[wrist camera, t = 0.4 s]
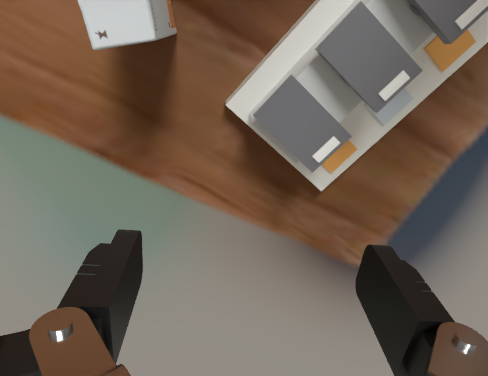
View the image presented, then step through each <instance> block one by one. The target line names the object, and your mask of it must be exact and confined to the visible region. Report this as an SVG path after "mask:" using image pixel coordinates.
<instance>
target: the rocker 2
mask: <svg viewBox="0 0 488 376" xmlns="http://www.w3.org/2000/svg"><path fill="white" fill-rule="evenodd" d="M407 1H408V2H409V3H410V9H411V10H412V11H413V12H414V13H415V14H416V15H417V16H421V17H422V19H423V20H424V21H425V22H426V23H427V24H428V26H429V27H430V28H431V29H432V30H433V31H434V33H435V34H436V35H437V36H438V37H439V38H440V40H441V41H442V42H443V43H444V44H452V43H453V42H454V41H455V40H456V39H457V38H459V37H460V36H461V35H462V34H463V33H464V32H465V31H466V30H467V29H468V28H469V27H470V26H471V25H473V24H474V23H475V22H476V21H477V20H478V19H479V18H480V17H481V16H482V15H483V14H484V13H486V12H487V11H488V0H407Z"/></svg>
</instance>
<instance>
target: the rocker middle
mask: <svg viewBox="0 0 488 376" xmlns="http://www.w3.org/2000/svg"><path fill="white" fill-rule="evenodd" d="M315 50H316V51H317V52H318V53H319V54H320V56H321V57H322V58H323V59H324V60H325V61H326V62H327V63H328V64H329V65H330V66H331V67H332V68H333V69H334V70H335V71H336V72H337V73H338V74H339V76H340V78H341V79H342V80H343V81H344V82H345V83H346V84H347V85H349V86H350V87H351V88H352V89H353V90H354V91H355V92H356V93H357V95H358V96H359V97H360V98H361V99H362V100H363V101H364V102H365V103H366V104H367V105H368V106H369V107H370V108H371V109H372V110H373V111H374V112H376V113H378V112H379V111H380V110H381V109H382V108H383V107H384V106H385V105H386V104H387V103H388V102H390V101H391V100H392V99H393V98H394V97H395V96H396V95H397V94H398V93H399V92H400V91H401V90H402V89H404V88H405V87H406V86H407V85H408V84H409V83H410V82H411V81H412V80H413V79H414V78H415V77H416V76H418V75H419V74H420V73H421V72H422V71H423V70H422V69H421V68H420V67H419V66H418V64H417V63H416V62H415V61H414V60H413V59H412V58H411V57H410V55H409V54H408V53H407V52H406V51H405V50H404V49H403V48H402V46H401V45H400V44H399V43H398V42H397V41H396V40H395V39H394V37H393V36H392V35H391V34H390V33H389V32H388V31H387V30H386V28H385V27H384V26H383V25H382V24H381V23H380V22H379V21H378V19H377V18H376V17H375V16H374V15H373V14H372V13H371V12H370V10H369V9H368V8H367V7H366V6H365V5H364V4H363V3H362V1H360V2H359V3H358V4H357V5H356V6H355V7H354V8H353V9H352V10H351V11H350V12H349V13H348V14H347V15H346V16H345V17H344V18H343V19H342V21H341V22H340V23H339V24H338V25H337V26H336V27H335V28H334V29H333V30H332V31H331V32H330V33H329V34H328V35H327V36H326V38H325V39H324V40H323V41H322V42H321V43H320V44H319V45H318V46H317V47H316V48H315Z"/></svg>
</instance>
